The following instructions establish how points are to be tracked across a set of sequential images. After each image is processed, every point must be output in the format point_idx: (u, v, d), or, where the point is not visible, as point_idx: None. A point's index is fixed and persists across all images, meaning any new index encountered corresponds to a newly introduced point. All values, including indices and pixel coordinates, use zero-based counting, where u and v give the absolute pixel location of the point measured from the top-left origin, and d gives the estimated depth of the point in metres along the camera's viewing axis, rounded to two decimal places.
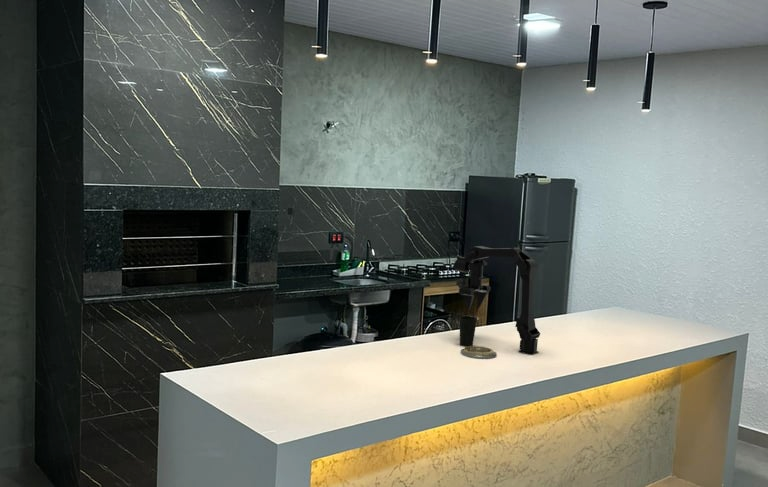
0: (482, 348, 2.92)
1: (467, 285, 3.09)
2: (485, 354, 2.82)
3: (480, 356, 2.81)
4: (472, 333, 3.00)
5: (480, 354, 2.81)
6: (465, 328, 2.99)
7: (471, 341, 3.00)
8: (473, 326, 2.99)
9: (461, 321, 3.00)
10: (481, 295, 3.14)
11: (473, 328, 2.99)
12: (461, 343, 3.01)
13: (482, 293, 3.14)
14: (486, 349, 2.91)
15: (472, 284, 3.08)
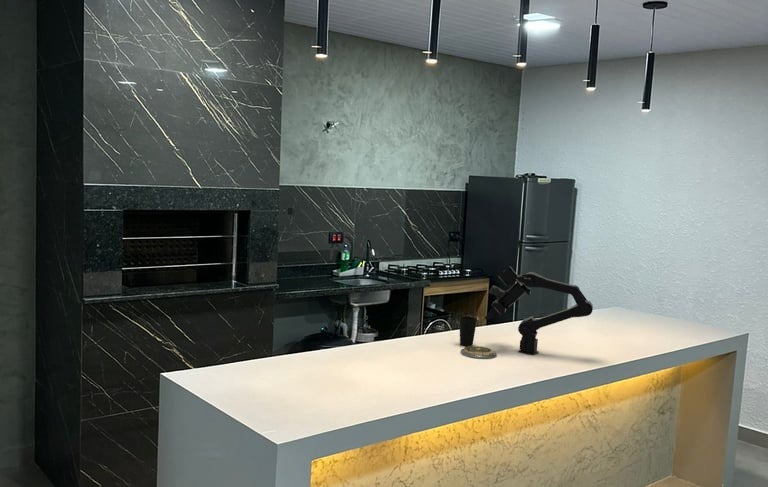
0: (482, 348, 2.92)
1: (500, 298, 2.94)
2: (485, 354, 2.82)
3: (480, 356, 2.81)
4: (472, 333, 3.00)
5: (480, 354, 2.81)
6: (465, 328, 2.99)
7: (471, 341, 3.00)
8: (473, 326, 2.99)
9: (461, 321, 3.00)
10: None
11: (473, 328, 2.99)
12: (461, 343, 3.01)
13: None
14: (486, 349, 2.91)
15: (505, 302, 2.94)
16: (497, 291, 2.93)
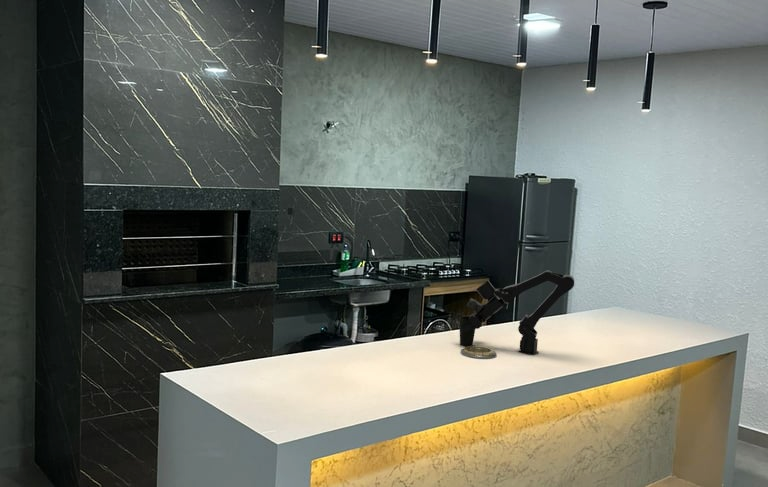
0: (482, 348, 2.92)
1: (477, 312, 2.97)
2: (485, 354, 2.82)
3: (480, 356, 2.81)
4: (472, 333, 3.00)
5: (480, 354, 2.81)
6: None
7: (471, 341, 3.00)
8: None
9: (461, 321, 3.00)
10: None
11: None
12: (461, 343, 3.01)
13: None
14: (486, 349, 2.91)
15: (482, 315, 2.97)
16: (474, 304, 2.96)
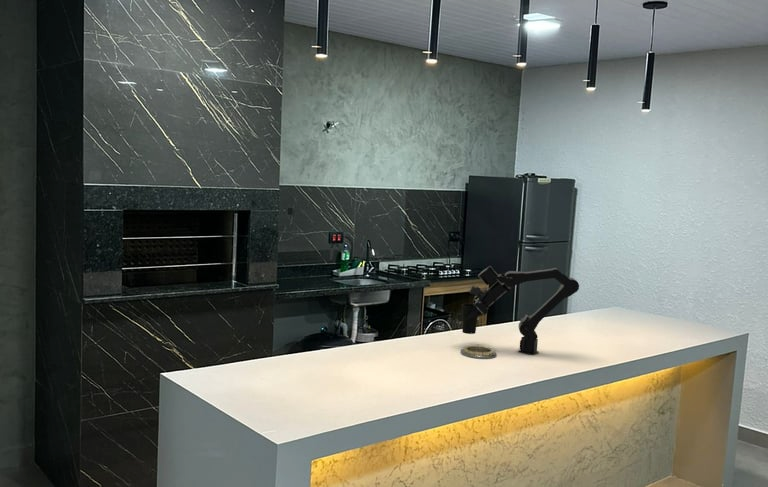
0: (482, 348, 2.92)
1: (481, 298, 2.93)
2: (485, 354, 2.82)
3: (480, 356, 2.81)
4: (475, 320, 2.95)
5: (480, 354, 2.81)
6: None
7: (474, 328, 2.96)
8: None
9: (464, 308, 2.94)
10: None
11: None
12: (464, 331, 2.96)
13: None
14: (486, 349, 2.91)
15: (486, 301, 2.93)
16: (478, 291, 2.91)
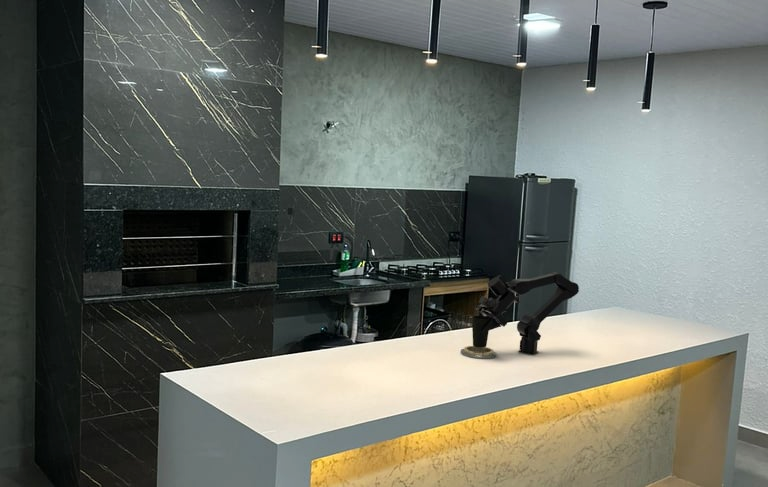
0: (482, 348, 2.92)
1: (494, 309, 2.84)
2: (485, 354, 2.82)
3: (480, 356, 2.81)
4: None
5: (480, 354, 2.81)
6: None
7: (486, 341, 2.86)
8: None
9: (479, 321, 2.83)
10: None
11: None
12: (478, 345, 2.85)
13: None
14: (486, 349, 2.91)
15: (498, 312, 2.85)
16: (493, 302, 2.82)
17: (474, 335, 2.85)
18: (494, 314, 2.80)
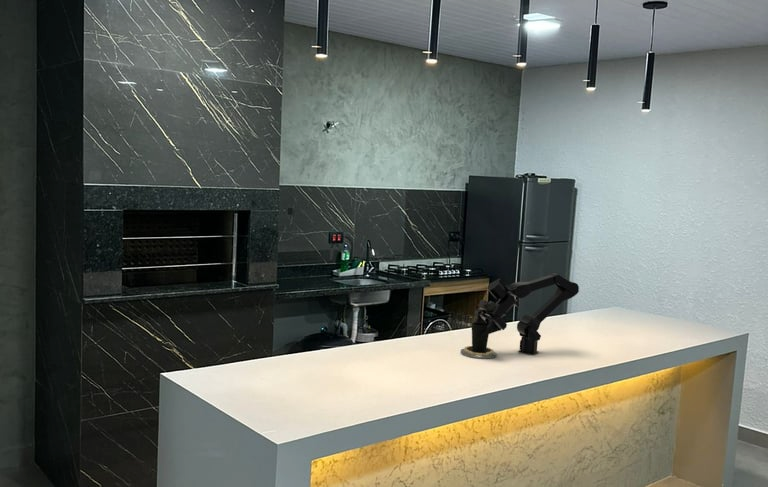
0: None
1: (493, 313, 2.85)
2: (485, 354, 2.82)
3: (480, 356, 2.81)
4: (487, 339, 2.86)
5: (480, 354, 2.81)
6: None
7: (486, 347, 2.87)
8: None
9: (478, 328, 2.83)
10: None
11: (488, 334, 2.86)
12: (477, 351, 2.85)
13: (483, 321, 2.92)
14: (486, 349, 2.91)
15: (498, 316, 2.85)
16: (493, 305, 2.83)
17: (474, 342, 2.85)
18: (494, 317, 2.80)
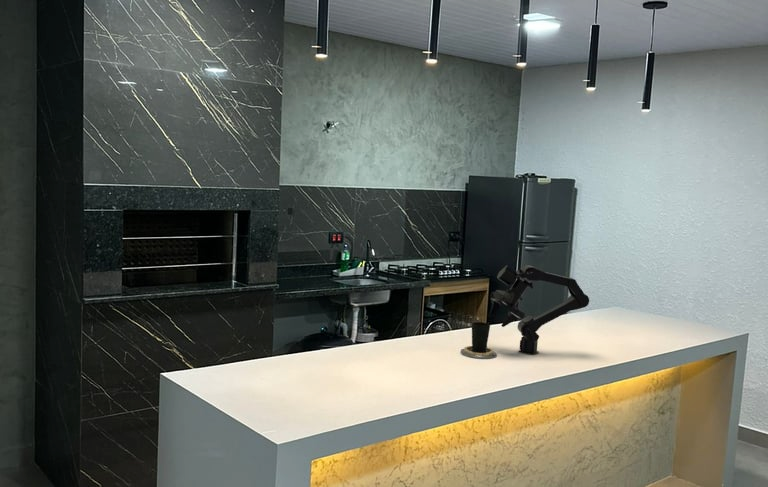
0: None
1: (510, 302, 2.89)
2: (485, 354, 2.82)
3: (480, 356, 2.81)
4: (487, 339, 2.86)
5: (480, 354, 2.81)
6: (483, 335, 2.83)
7: (486, 347, 2.87)
8: (488, 332, 2.86)
9: (478, 328, 2.83)
10: (497, 306, 2.97)
11: (488, 334, 2.86)
12: (477, 351, 2.85)
13: (498, 305, 2.98)
14: (486, 349, 2.91)
15: (514, 303, 2.90)
16: (510, 297, 2.86)
17: (474, 342, 2.85)
18: (512, 310, 2.85)
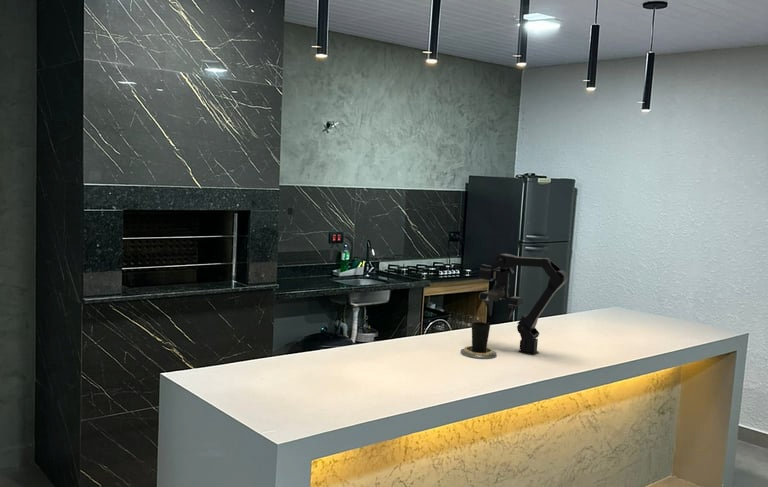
0: None
1: None
2: (485, 354, 2.82)
3: (480, 356, 2.81)
4: (487, 339, 2.86)
5: (480, 354, 2.81)
6: (483, 335, 2.83)
7: (486, 347, 2.87)
8: (488, 332, 2.86)
9: (478, 328, 2.83)
10: (491, 303, 3.04)
11: (488, 334, 2.86)
12: (477, 351, 2.85)
13: (491, 301, 3.04)
14: (486, 349, 2.91)
15: (507, 293, 2.98)
16: (504, 293, 2.93)
17: (474, 342, 2.85)
18: (512, 302, 2.94)
